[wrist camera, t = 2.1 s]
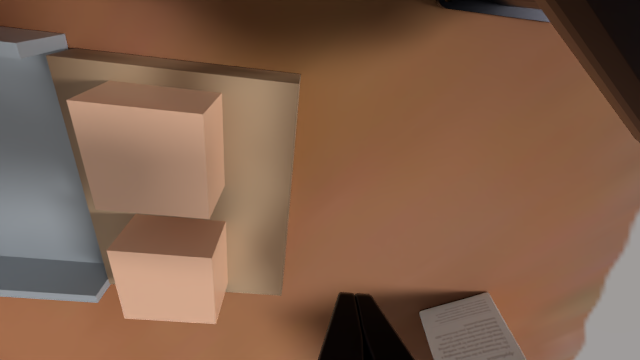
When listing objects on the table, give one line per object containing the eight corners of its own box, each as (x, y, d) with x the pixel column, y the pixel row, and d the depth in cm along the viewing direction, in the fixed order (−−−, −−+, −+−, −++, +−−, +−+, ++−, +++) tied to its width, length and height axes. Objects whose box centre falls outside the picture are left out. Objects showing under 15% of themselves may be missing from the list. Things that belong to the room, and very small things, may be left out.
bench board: (300, 74, 17) (299, 84, 15) (283, 273, 24) (281, 295, 22) (74, 48, 16) (45, 55, 14) (124, 261, 23) (109, 283, 21)
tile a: (222, 92, 15) (202, 114, 13) (224, 185, 18) (209, 219, 15) (109, 80, 15) (66, 99, 12) (128, 176, 17) (95, 209, 15)
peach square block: (225, 221, 19) (211, 258, 16) (227, 283, 22) (215, 324, 19) (135, 213, 19) (106, 250, 16) (148, 277, 21) (124, 318, 19)
